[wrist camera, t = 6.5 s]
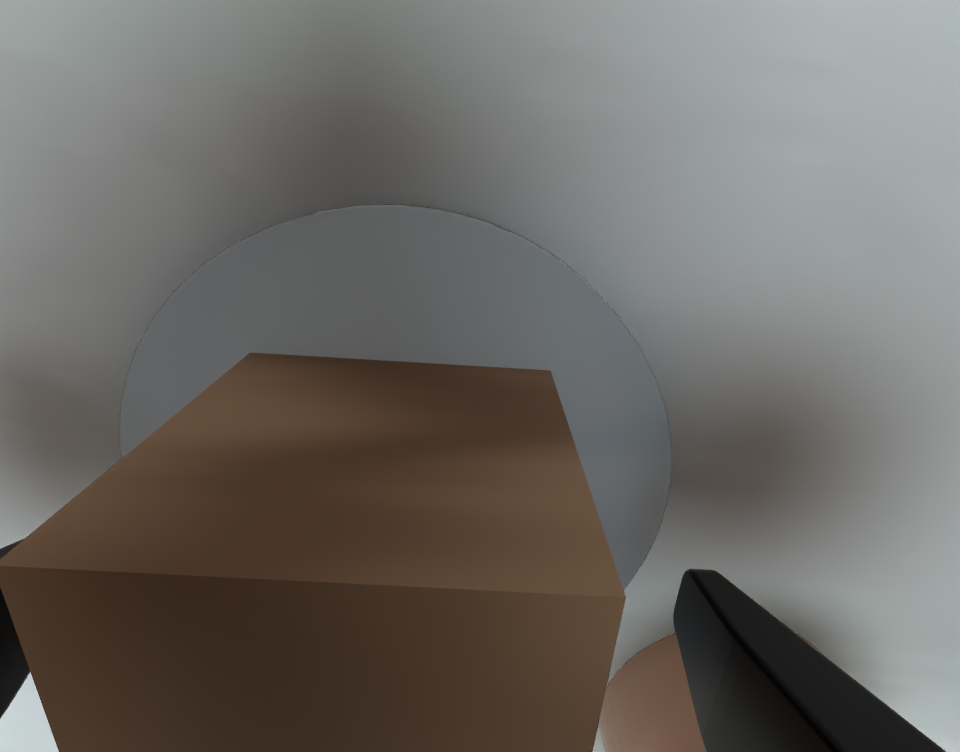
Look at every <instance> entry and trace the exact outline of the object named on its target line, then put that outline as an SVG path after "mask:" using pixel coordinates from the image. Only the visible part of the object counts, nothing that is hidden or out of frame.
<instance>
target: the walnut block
mask: <svg viewBox="0 0 960 752" xmlns="http://www.w3.org/2000/svg"><path fill="white" fill-rule="evenodd" d="M0 588H1V590H2V593H3V596H4V599H5V602H6V604H7V607H8V610H9V613H10V616H11V618H12V621H13V624H14V627H15V630H16V632H17V635H18V638H19V641H20V644H21V646H22V649H23V652H24V655H25V658H26V660H27V663H28V666H29V669H30V672H31V674H32V677H33V680H34V683H35V686H36V689H37V691H38V694H39V697H40V700H41V703H42V705H43V708H44V711H45V714H46V717H47V719H48V722H49V725H50V728H51V731H52V733H53V736H54V739H55V742H56V745H57V747H58V750H59V752H592V751H593V746H594V742H595V737H596V732H597V728H598V723H599V718H600V714H601V709H602V705H603V700H604V695H605V691H606V686H607V681H608V677H609V672H610V667H611V663H612V658H613V654H614V649H615V644H616V640H617V635H618V630H619V626H620V621H621V616H622V612H623V607H624V603H625V598H626V597H625V594H624V591H623V588H622V585H621V582H620V579H619V576H618V573H617V570H616V567H615V564H614V561H613V558H612V555H611V552H610V549H609V546H608V543H607V540H606V537H605V534H604V531H603V528H602V525H601V522H600V518H599V515H598V512H597V509H596V506H595V503H594V500H593V497H592V494H591V491H590V488H589V485H588V482H587V479H586V476H585V473H584V470H583V467H582V464H581V461H580V458H579V455H578V452H577V449H576V446H575V443H574V440H573V437H572V434H571V431H570V428H569V425H568V422H567V419H566V416H565V413H564V410H563V407H562V404H561V401H560V398H559V394H558V391H557V388H556V385H555V382H554V379H553V376H552V373H551V370H535V369H518V368H502V367H485V366H468V365H451V364H435V363H418V362H401V361H384V360H368V359H351V358H334V357H318V356H301V355H284V354H267V353H251V352H250V353H249V354H248V355H246V356H245V357H244V358H243V359H242V360H240V361H239V362H238V363H237V364H236V365H234V366H233V367H232V368H231V369H230V370H228V371H227V372H226V373H225V374H224V375H222V376H221V377H220V378H219V379H217V380H216V381H215V382H214V383H213V384H211V385H210V386H209V387H208V388H207V389H205V390H204V391H203V392H202V393H201V394H199V395H198V396H197V397H196V398H194V399H193V400H192V401H191V402H190V403H188V404H187V405H186V406H185V407H184V408H182V409H181V410H180V411H179V412H178V413H176V414H175V415H174V416H173V417H172V418H170V419H169V420H168V421H167V422H165V423H164V424H163V425H162V426H161V427H159V428H158V429H157V430H156V431H155V432H153V433H152V434H151V435H150V436H149V437H147V438H146V439H145V440H144V441H143V442H141V443H140V444H139V445H138V446H136V447H135V448H134V449H133V450H132V451H130V452H129V453H128V454H127V455H126V456H124V457H123V458H122V459H121V460H120V461H118V462H117V463H116V464H115V465H113V466H112V467H111V468H110V469H109V470H107V471H106V472H105V473H104V474H103V475H101V476H100V477H99V478H98V479H97V480H95V481H94V482H93V483H92V484H91V485H89V486H88V487H87V488H86V489H84V490H83V491H82V492H81V493H80V494H78V495H77V496H76V497H75V498H74V499H72V500H71V501H70V502H69V503H68V504H66V505H65V506H64V507H63V508H61V509H60V510H59V511H58V512H57V513H55V514H54V515H53V516H52V517H51V518H49V519H48V520H47V521H46V522H45V523H43V524H42V525H41V526H40V527H39V528H37V529H36V530H35V531H34V532H32V533H31V534H30V535H29V536H28V537H26V538H25V539H24V540H23V541H22V542H20V543H19V544H18V545H17V546H16V547H14V548H13V549H12V550H11V551H10V552H8V553H7V554H6V555H5V556H3V557H2V558H1V559H0Z"/></svg>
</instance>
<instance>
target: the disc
mask: <svg viewBox="0 0 960 752" xmlns="http://www.w3.org/2000/svg"><path fill="white" fill-rule="evenodd" d="M250 352H251V353H267V354H284V355H301V356H318V357H334V358H351V359H368V360H384V361H401V362H418V363H435V364H451V365H468V366H485V367H502V368H518V369H535V370H551V373H552V376H553V379H554V382H555V385H556V388H557V391H558V394H559V398H560V401H561V404H562V407H563V410H564V413H565V416H566V419H567V422H568V425H569V428H570V431H571V434H572V437H573V440H574V443H575V446H576V449H577V452H578V455H579V458H580V461H581V464H582V467H583V470H584V473H585V476H586V479H587V482H588V485H589V488H590V491H591V494H592V497H593V500H594V503H595V506H596V509H597V512H598V515H599V518H600V522H601V525H602V528H603V531H604V534H605V537H606V540H607V543H608V546H609V549H610V552H611V555H612V558H613V561H614V564H615V567H616V570H617V573H618V576H619V579H620V582H621V585H622V588H623V590H624V589H625V588H626V586H627V585H628V584H629V583H630V581H631V580H632V578H633V577H634V575H635V574H636V572H637V571H638V569H639V568H640V566H641V565H642V563H643V562H644V560H645V559H646V557H647V554H648V552H649V550H650V548H651V546H652V544H653V542H654V540H655V538H656V536H657V533H658V531H659V527H660V524H661V521H662V518H663V514H664V511H665V508H666V505H667V499H668V492H669V486H670V479H671V439H670V432H669V426H668V420H667V413H666V409H665V406H664V403H663V400H662V396H661V393H660V390H659V387H658V384H657V381H656V378H655V376H654V374H653V372H652V370H651V368H650V366H649V364H648V362H647V360H646V358H645V356H644V354H643V352H642V350H641V348H640V346H639V345H638V343H637V342H636V340H635V339H634V338H633V336H632V335H631V333H630V332H629V330H628V329H627V328H626V326H625V325H624V323H623V322H622V320H621V319H620V318H619V316H618V315H617V314H616V313H615V312H614V310H613V309H612V308H611V307H610V306H609V305H608V304H607V303H606V302H605V301H604V300H603V299H602V298H601V297H600V295H599V294H598V293H597V292H596V291H595V290H594V289H593V288H592V287H591V286H590V285H589V284H588V283H587V282H586V281H585V280H584V279H583V278H581V277H580V276H579V275H578V274H576V273H575V272H574V271H573V270H571V269H570V268H569V267H568V266H566V265H565V264H564V263H563V262H561V261H560V260H559V259H558V258H556V257H555V256H553V255H551V254H550V253H548V252H546V251H545V250H543V249H541V248H540V247H538V246H536V245H535V244H533V243H531V242H530V241H528V240H526V239H524V238H523V237H521V236H519V235H516V234H514V233H511V232H509V231H507V230H504V229H502V228H500V227H497V226H495V225H492V224H490V223H488V222H485V221H482V220H479V219H475V218H471V217H467V216H464V215H460V214H456V213H453V212H449V211H445V210H439V209H431V208H423V207H416V206H408V205H359V206H353V207H346V208H339V209H332V210H325V211H320V212H317V213H313V214H310V215H306V216H303V217H300V218H296V219H293V220H290V221H286V222H283V223H280V224H276V225H273V226H271V227H268V228H266V229H264V230H262V231H260V232H258V233H256V234H253V235H251V236H249V237H247V238H245V239H243V240H240V241H238V242H236V243H234V244H233V245H231V246H230V247H228V248H227V249H225V250H224V251H222V252H221V253H219V254H218V255H216V256H215V257H213V258H212V259H210V260H209V261H207V262H206V263H204V264H203V265H202V266H201V267H199V268H198V269H197V270H196V271H195V272H194V273H193V274H192V275H191V276H190V277H189V278H188V279H186V280H185V281H184V282H183V283H182V284H181V285H180V286H179V287H178V288H177V289H176V290H175V291H174V292H173V293H172V295H171V296H170V297H169V298H168V300H167V301H166V302H165V304H164V305H163V306H162V307H161V309H160V310H159V311H158V312H157V314H156V315H155V316H154V318H153V319H152V321H151V323H150V325H149V326H148V328H147V330H146V332H145V334H144V336H143V337H142V339H141V341H140V343H139V345H138V347H137V349H136V351H135V354H134V357H133V360H132V363H131V366H130V369H129V372H128V374H127V377H126V380H125V386H124V392H123V398H122V404H121V410H120V450H121V457H122V458H123V457H124V456H126V455H127V454H128V453H129V452H130V451H132V450H133V449H134V448H135V447H136V446H138V445H139V444H140V443H141V442H143V441H144V440H145V439H146V438H147V437H149V436H150V435H151V434H152V433H153V432H155V431H156V430H157V429H158V428H159V427H161V426H162V425H163V424H164V423H165V422H167V421H168V420H169V419H170V418H172V417H173V416H174V415H175V414H176V413H178V412H179V411H180V410H181V409H182V408H184V407H185V406H186V405H187V404H188V403H190V402H191V401H192V400H193V399H194V398H196V397H197V396H198V395H199V394H201V393H202V392H203V391H204V390H205V389H207V388H208V387H209V386H210V385H211V384H213V383H214V382H215V381H216V380H217V379H219V378H220V377H221V376H222V375H224V374H225V373H226V372H227V371H228V370H230V369H231V368H232V367H233V366H234V365H236V364H237V363H238V362H239V361H240V360H242V359H243V358H244V357H245V356H246V355H248V354H249V353H250Z"/></svg>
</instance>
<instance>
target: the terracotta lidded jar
mask: <svg viewBox="0 0 960 752" xmlns="http://www.w3.org/2000/svg"><path fill="white" fill-rule="evenodd" d="M802 639H803V638H802ZM803 640H804V639H803ZM805 641H806V640H805ZM806 642H807V641H806ZM807 643H808V644H810V643H809V642H807ZM810 645H811V646H812V647H814V646H813V645H812V644H810ZM814 648H815V647H814ZM815 649H816V648H815ZM816 650H817V651H819V650H818V649H816ZM819 652H820V651H819ZM820 653H821V652H820ZM821 654H822V653H821ZM822 655H823V654H822ZM599 724H600V730H601V735H602V739H603V744H604V749H605V752H706V750H705V747H704V744H703V740H702V737H701V734H700V730H699V726H698V722H697V719H696V715H695V710H694V706H693V702H692V698H691V694H690V690H689V686H688V682H687V678H686V674H685V669H684V665H683V661H682V657H681V653H680V649H679V645H678V641H677V637H676V633H675V634H673V635H670V636H668V637H665V638H663V639H661V640H659V641H657V642H655V643H653V644H651V645H650V646H648V647H646V648H645V649H643V650H642V651H640V652H639V653H637V654H636V655H635V656H633V657H632V658H631V659H630V660H629V661H628V662H626V663H625V664H624V665H623V666H622V667H621V668H620V670H619V671H618V672H617V673H616V674H615V675H614V677H613V678H612V680H611V681H610V682H609V684H608V686H607V688H606V691H605V695H604V700H603V705H602V709H601V714H600V718H599Z"/></svg>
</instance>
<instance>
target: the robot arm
mask: <svg viewBox="0 0 960 752" xmlns="http://www.w3.org/2000/svg"><path fill="white" fill-rule="evenodd" d="M23 540H24V539H22V540H20V541H18V542H15V543H13V544H11V545H8V546H6V547H4V548H1V549H0V559H1V558H2V557H3V556H5V555H6V554H7V553H8V552H10V551H11V550H12V549H13V548H14V547H16V546H17V545H18V544H19V543H20V542H22V541H23ZM673 620H674V628H675V633H676V637H677V641H678V645H679V649H680V653H681V657H682V661H683V665H684V669H685V674H686V678H687V682H688V686H689V690H690V694H691V698H692V702H693V706H694V710H695V715H696V719H697V722H698V726H699V730H700V734H701V737H702V740H703V744H704V747H705V750H706V752H946V751H944V750H943V749H942V748H941V747H939V746H938V745H937V744H936V743H934V742H933V741H932V740H931V739H929V738H928V737H927V736H925V735H924V734H923V733H922V732H920V731H919V730H918V729H917V728H915V727H914V726H913V725H911V724H910V723H909V722H908V721H906V720H905V719H904V718H903V717H901V716H900V715H899V714H897V713H896V712H895V711H894V710H892V709H891V708H890V707H889V706H887V705H886V704H885V703H883V702H882V701H881V700H880V699H878V698H877V697H876V696H875V695H873V694H872V693H871V692H869V691H868V690H867V689H866V688H864V687H863V686H862V685H861V684H859V683H858V682H857V681H855V680H854V679H853V678H852V677H850V676H849V675H848V674H847V673H845V672H844V671H843V670H842V669H840V668H839V667H838V666H836V665H835V664H834V663H833V662H831V661H830V660H829V659H828V658H826V657H825V656H824V655H822V654H821V653H820V652H819V651H817V650H816V649H815V648H814V647H812V646H811V645H810V644H808V643H807V642H806V641H805V640H803V639H802V638H801V637H800V636H798V635H797V634H796V633H794V632H793V631H792V630H791V629H789V628H788V627H787V626H786V625H784V624H783V623H782V622H780V621H779V620H778V619H777V618H775V617H774V616H773V615H772V614H770V613H769V612H768V611H767V610H765V609H764V608H763V607H761V606H760V605H759V604H758V603H756V602H755V601H754V600H753V599H751V598H750V597H749V596H747V595H746V594H745V593H744V592H742V591H741V590H740V589H739V588H737V587H736V586H735V585H733V584H732V583H731V582H730V581H728V580H727V579H726V578H725V577H723V576H722V575H721V574H719V573H718V572H716V571H714V570H704V569H689V570H687V571H686V572H685V573H684V575H683V577H682V581H681V585H680V589H679V593H678V596H677V600H676V604H675V608H674V615H673ZM29 673H30V669H29V666H28V663H27V660H26V658H25V655H24V652H23V649H22V646H21V644H20V641H19V638H18V635H17V632H16V630H15V627H14V624H13V621H12V618H11V616H10V613H9V610H8V607H7V604H6V602H5V599H4V596H3V593H2V590H1V588H0V718H1V717H2V715H3V714H4V713H5V711H6V710H7V708H8V707H9V705H10V703H11V702H12V700H13V699H14V697H15V696H16V694H17V692H18V691H19V689H20V688H21V686H22V684H23V683H24V681H25V679H26V678H27V676H28V674H29Z"/></svg>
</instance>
